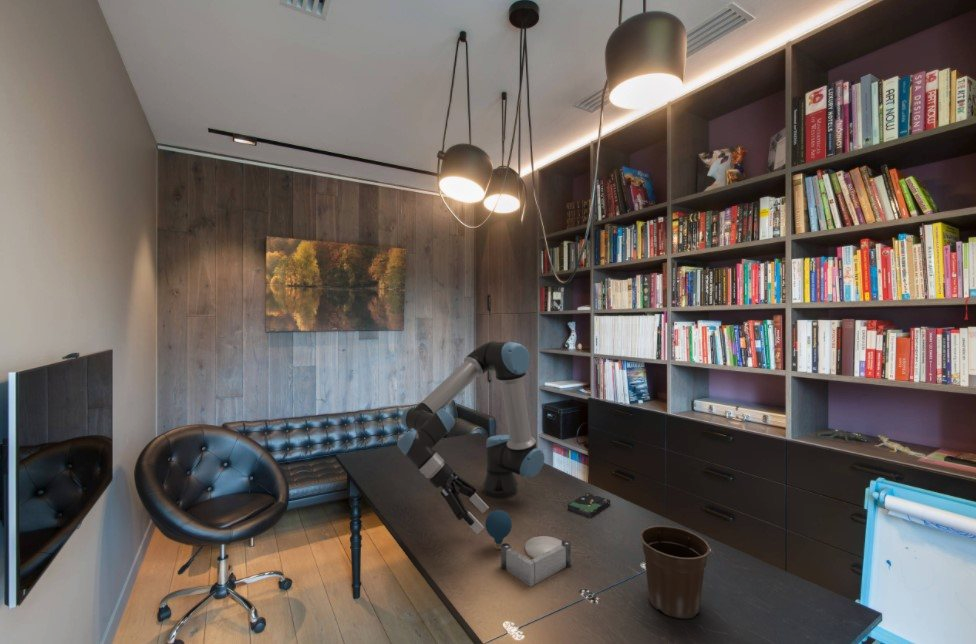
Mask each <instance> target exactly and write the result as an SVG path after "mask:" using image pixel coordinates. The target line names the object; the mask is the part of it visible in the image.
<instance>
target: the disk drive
mask: <svg viewBox="0 0 976 644" xmlns="http://www.w3.org/2000/svg"><path fill="white" fill-rule="evenodd" d="M610 506H611V499H608V498H605V497H602V496H600V495H596V496H594V494H592V493H589V492H587V493H585V494H583V495H581V496H580V497H577V498H576V499H574V500H572V501H571V502H569V503H567V510H568V511H570V512H573V513H574V514H575V513H576V514H579V515H581V516H584V517H587V518H590V519H592V518H594V517H595V516H596V515H598V514H600V513H601V512H602V511H604V510H606V509H607V508H610Z"/></svg>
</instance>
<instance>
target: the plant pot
mask: <svg viewBox="0 0 976 644" xmlns="http://www.w3.org/2000/svg"><path fill="white" fill-rule="evenodd" d="M639 535H640V541H641V542H642V550H643V555H644V560H645V571H646V583H647V597H648V601H649V603H650V604H651V606H653V608H654V609H656V610H657V611H658V610H659V611H661V612H662V613H663V614H665V616H668V617H671V618H676V619H683V620H684V619H687V620H688V619H693V618H695V617H696V615H697V614H699V613H700V610H701V602H702V601H701V600H702V591H703V582H704V575H705V574H704V573H705V568H706V566H707V561H708V557H709V555H710V552H711V547H710V544H709V543H708V542H707V541H706V540H705V539H704V538H702V537H701V536H699V535H698V534H696V533H694V532H692V531H690V530H686V529H684V528H680V527H676V526H670V525H653V526H649V527H646V528H644V529H642V531H641V532H640V534H639Z"/></svg>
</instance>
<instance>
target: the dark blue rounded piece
mask: <svg viewBox="0 0 976 644" xmlns="http://www.w3.org/2000/svg"><path fill="white" fill-rule="evenodd" d="M486 516H487V517H486V518H485V524H484V525H485V530H486V532H487V534H488V535H489V536H490V537H491V538H493V539H494V543H495V549H497V550H501V544H503V540H504V539H505V538H506V537H508V535H510V533H511V530H512V525H513V523H512V519H511V516H510V514H508V512H507V511H504V510H502V509H496V510H495V509H494V510H492V511H491V512H490V513H489V514H488V515H486Z"/></svg>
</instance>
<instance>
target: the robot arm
mask: <svg viewBox="0 0 976 644" xmlns="http://www.w3.org/2000/svg"><path fill="white" fill-rule="evenodd" d="M530 364H531V356H530V353H529V351H528V349H527V348H526V346H524V345H523V344H521V343H519V342H514V341H513V342H512V341H495V340H494V341H487V342H484V343H483V344H481V345H479V346H477V347H476V348H475V349H474V350H472V351H471V352H470V353H468V355H466V356H465V358H464V359H463V362H462V364H461V365H460V366H458V368H457V369H455V370H454V371H453V372H452V373H451V374H449V376H447V377H446V378H445V379H444V380H443V381H442V382H441V383H440V384H439V385H437V387H436V388H435V389H434V390H433V391H431V392H430V393H429V394H428V395H427V396H426V397H425V398H424V399H423V400H422V401H421V402H420V403H418V405H416V406H415V407H408V408H406V409H405V410H404V411H403V412H402V414H401V418H400V421H401V424H402V426H403V427H404V428H406V429H408V431H407V432H406V433H405V434H403V436H402V437H401V438H399V440H397V447H398V449H399V450H400V451H401V452H402V453H403V455H404V456H405V457H406V458H407V459H408V460H409V461H410V462H411V463H412V464H413V465H414V466H415V467H416V468H417V469H418V470H419V471H420V474H421V475H424V477H425V478H427V479H429V480H428V481H429V482H430V483H431V484H432V486H433V487H434V488H435V489H438V488H440V487H441V489H442V490H441V491H440V492H439V493H440V494H441V496H442V497H443V498H444V500H445V501H446V503H447V504H448V506H449V508H450V509H451V511H452V512H453V514H454V516H455V517H456V519H457V521H461V520H463V521H464V522H465V523H466V524H467V525H468V526H469V528H471V529H472V530H473V532H474V533H475V534H476V535H478V534H479V533H480V532H481V531H482V530H484V528H485V527H484V525H483V524H482V523H481V522H480V521H479V519H477V518H476V517H475V516H474V515H473V514H472V513H471V512H470V511H467V509H466V507H465V504H464V503H463V500H462V499H461V496H460V494H462V495H464V496H466V497H468V498H469V501H470V502H471V503H472V504H473V505H474V506H475V507H476V508H477V509H478V510H479V511H480V512H481V514H484V513H485V512H486V511H487V510H489V506H488V504H486V502H484V500H483V499H482V498H481V497H480V496H479V495H478V494H477V493H476V492H477V489H476V488H475V487H474V486H473V485H472V484H470V483H469V482H468V481H466V480H465V479H463V478H462V477H461V476H459V475H458V474H457V473H456V472H454V470H453V468H452V467H451V466H450V465H449V464H448V463H447V462H445V460H444V459H443V458H442V457H441V456H440V455H439V453H438V452H437V451H436V450H435V449H434V447H435V446H436V445H437V444H438V443H439V442H440V441H441V440H442V439H443V437H445V436H447V434H449V433H450V431H451V430H452V429H453V427H454V426H455V424H456V421H455V418H454V417H453V415H452V414H451V413H450V411H448V410H447V409H445V408H446V407H447V406H448V405H449V404H450V403H451V402H452V401H453V400H454V399H456V397H457V396H459V394H461V393H462V391H464V389H466V388H467V387H468V386H469V385H470V384H471V383H472V382H473V381H474V380H475V379H476V378H477V377H478V378H479V377H482V376H483V375H484V374H485V373H487V372H490V371H493V372H495V378H496V380H497V381H498V382H499V383H500V385H501V392H502V398H503V405H504V412H505V419H506V423H507V431H508V434H497V435H492V436H490V437H488V438H487V439H486V446H485V454H486V455H485V462H486V464H485V465H486V469H485V470H486V471H485V472H486V473H485V477H484V480H483V482H482V488H481V489H482V493H483V494H484V495H486V496H488V497H491V498H497V499H498V498H499V499H501V498H503V499H504V498H509V497H514V496H516V494H518V492H519V485H518V482H517V478H516V475H519V476H520V477H525V478H528V479H529V478H534V477H536V476H537V475H539V473H540V472H541V470H542V468H543V466H544V463H545V455H544V451H543V450H542V449H541V448H538V447H537V441H536V439H535V437H533V436H532V434H531V427H530V419H529V413H528V407H527V400H526V399H527V398H526V393H525V385H524V380H523V379H524V378H525V377H526V376H527V374H526V372H527V371H528V370H529V366H530Z"/></svg>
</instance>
